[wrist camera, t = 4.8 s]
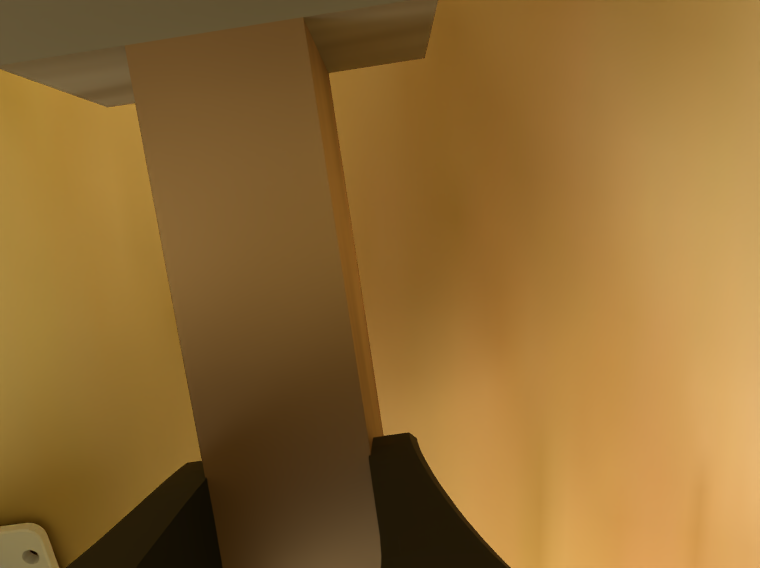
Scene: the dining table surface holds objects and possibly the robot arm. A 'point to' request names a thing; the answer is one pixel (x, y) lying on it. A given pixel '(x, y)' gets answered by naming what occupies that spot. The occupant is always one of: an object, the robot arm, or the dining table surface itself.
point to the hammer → (250, 239)
